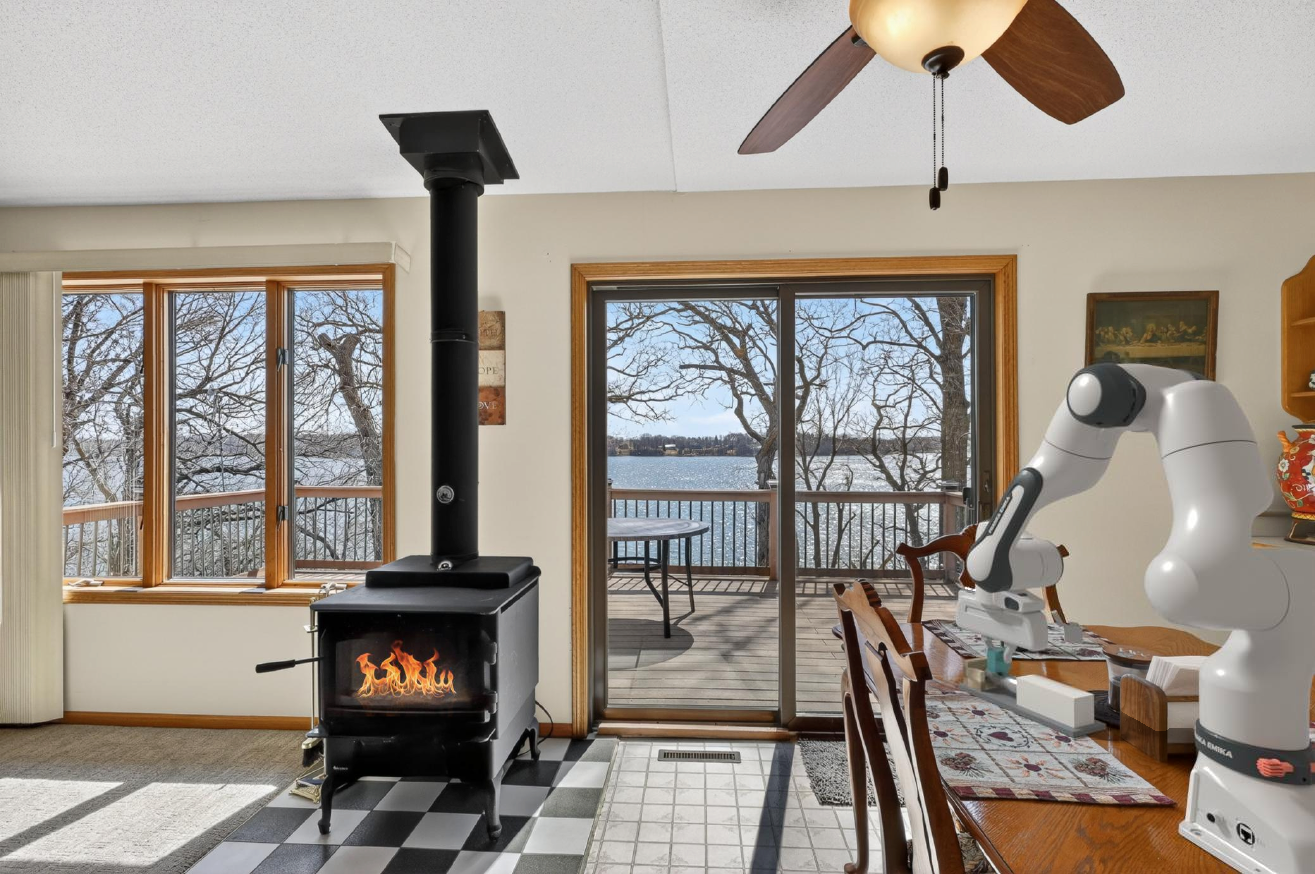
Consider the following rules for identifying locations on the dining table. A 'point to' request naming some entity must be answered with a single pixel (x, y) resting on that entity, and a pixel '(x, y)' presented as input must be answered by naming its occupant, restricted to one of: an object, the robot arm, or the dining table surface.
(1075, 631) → the lighter
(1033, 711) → the tube stand
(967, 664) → the socket block
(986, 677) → the slip tube
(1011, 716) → the dining table surface
